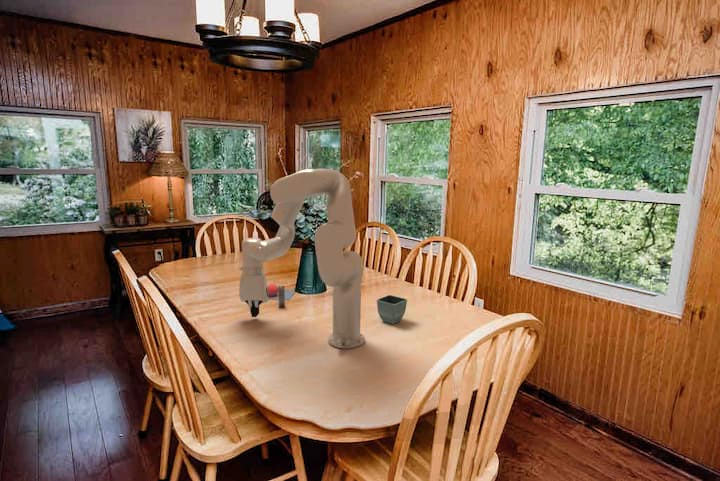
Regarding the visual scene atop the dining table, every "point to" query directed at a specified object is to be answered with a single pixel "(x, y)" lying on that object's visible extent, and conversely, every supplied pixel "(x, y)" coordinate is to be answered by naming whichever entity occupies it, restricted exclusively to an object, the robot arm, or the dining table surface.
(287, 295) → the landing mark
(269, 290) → the ball
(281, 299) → the post right
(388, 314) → the flower pot
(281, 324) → the dining table surface
